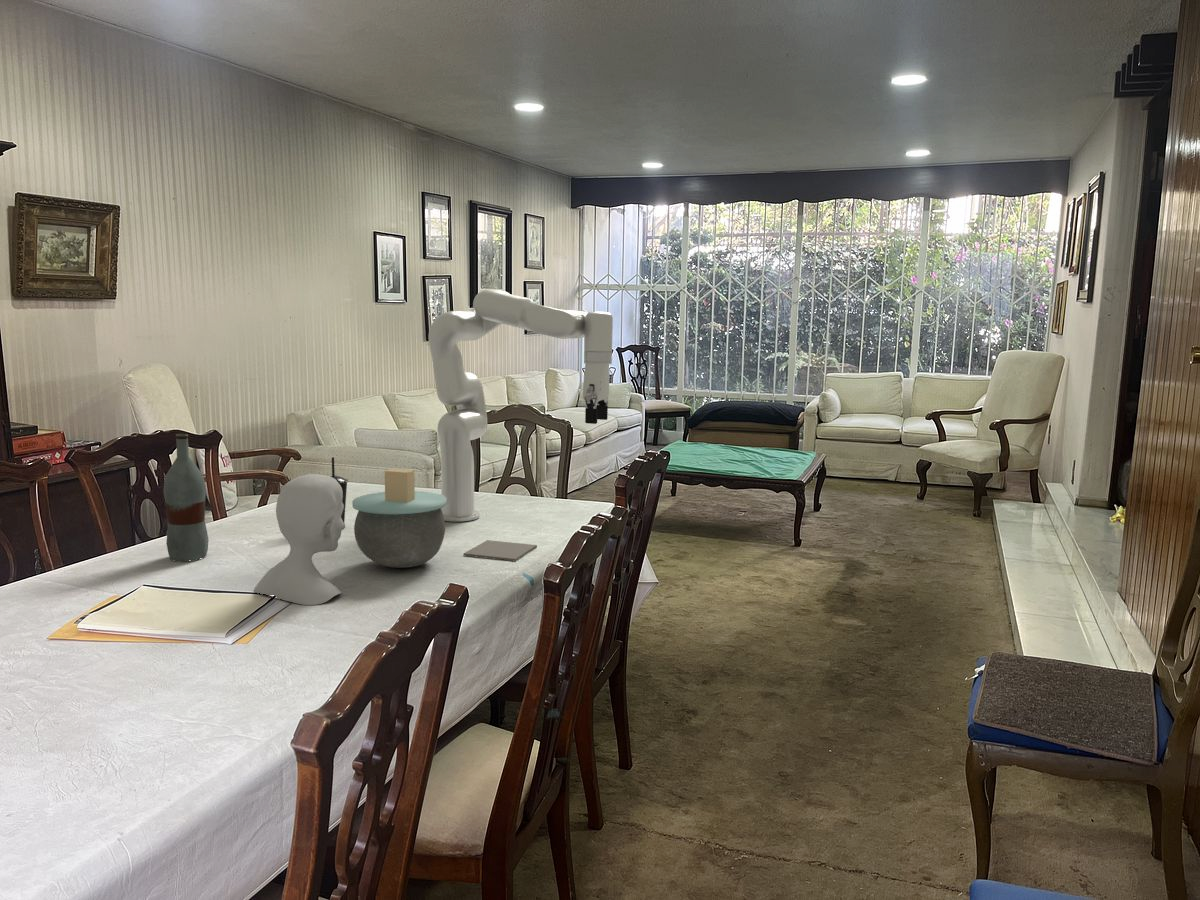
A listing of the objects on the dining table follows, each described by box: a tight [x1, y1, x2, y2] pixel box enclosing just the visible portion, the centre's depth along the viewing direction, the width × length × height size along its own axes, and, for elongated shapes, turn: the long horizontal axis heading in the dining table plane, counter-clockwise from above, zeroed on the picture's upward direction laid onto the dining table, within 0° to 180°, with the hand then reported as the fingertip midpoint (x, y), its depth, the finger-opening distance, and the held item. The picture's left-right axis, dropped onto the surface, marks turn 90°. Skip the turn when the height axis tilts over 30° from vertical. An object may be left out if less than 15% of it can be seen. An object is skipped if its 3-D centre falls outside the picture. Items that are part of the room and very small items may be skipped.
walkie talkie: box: [329, 456, 349, 524], centre depth 243 cm, size 8×8×20 cm
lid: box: [351, 468, 447, 514], centre depth 208 cm, size 22×22×8 cm
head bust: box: [253, 473, 346, 606], centre depth 191 cm, size 22×19×25 cm
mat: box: [463, 539, 538, 562], centre depth 224 cm, size 14×14×1 cm
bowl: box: [353, 508, 446, 569], centre depth 210 cm, size 21×21×15 cm
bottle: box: [162, 433, 209, 562], centre depth 212 cm, size 9×9×30 cm
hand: (596, 421), depth 241 cm, fingers open, 9 cm apart
